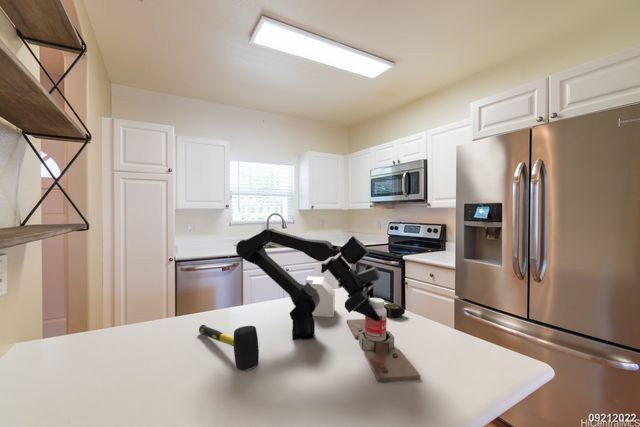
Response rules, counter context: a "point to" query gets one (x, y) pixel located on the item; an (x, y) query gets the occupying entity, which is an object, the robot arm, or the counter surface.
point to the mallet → (238, 344)
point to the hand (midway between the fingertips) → (380, 316)
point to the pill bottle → (376, 322)
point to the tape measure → (394, 310)
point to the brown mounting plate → (383, 355)
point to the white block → (323, 297)
